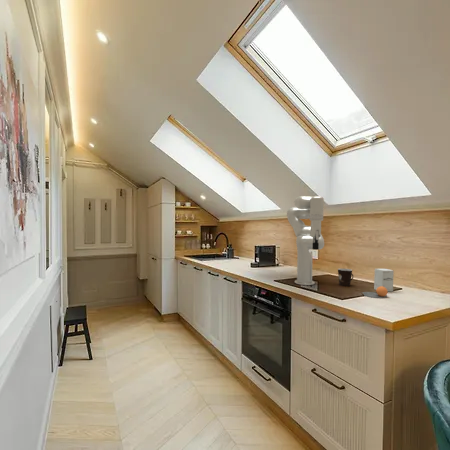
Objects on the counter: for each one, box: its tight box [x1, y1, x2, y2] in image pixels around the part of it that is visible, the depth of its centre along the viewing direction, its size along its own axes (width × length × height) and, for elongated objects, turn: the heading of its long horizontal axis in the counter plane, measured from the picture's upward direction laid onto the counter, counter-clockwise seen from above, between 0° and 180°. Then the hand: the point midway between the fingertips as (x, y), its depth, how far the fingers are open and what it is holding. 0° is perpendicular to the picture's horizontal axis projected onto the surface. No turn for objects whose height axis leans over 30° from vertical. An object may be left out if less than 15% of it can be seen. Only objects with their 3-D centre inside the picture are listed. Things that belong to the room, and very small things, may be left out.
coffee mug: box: [337, 268, 354, 287], centre depth 186 cm, size 12×9×10 cm
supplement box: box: [373, 268, 395, 293], centre depth 174 cm, size 7×7×13 cm
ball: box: [375, 286, 388, 297], centre depth 160 cm, size 6×6×6 cm
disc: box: [361, 291, 388, 299], centre depth 163 cm, size 13×13×1 cm
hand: (315, 249), depth 171 cm, fingers closed
